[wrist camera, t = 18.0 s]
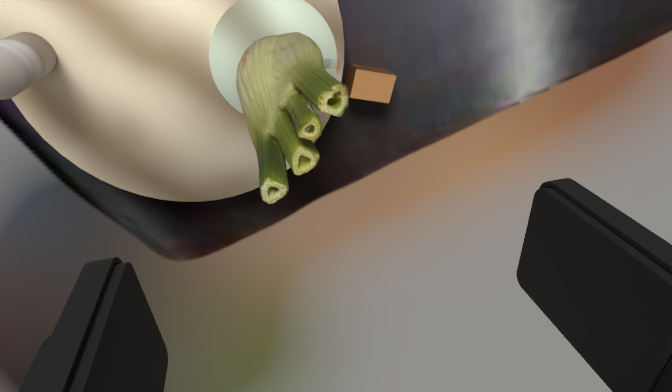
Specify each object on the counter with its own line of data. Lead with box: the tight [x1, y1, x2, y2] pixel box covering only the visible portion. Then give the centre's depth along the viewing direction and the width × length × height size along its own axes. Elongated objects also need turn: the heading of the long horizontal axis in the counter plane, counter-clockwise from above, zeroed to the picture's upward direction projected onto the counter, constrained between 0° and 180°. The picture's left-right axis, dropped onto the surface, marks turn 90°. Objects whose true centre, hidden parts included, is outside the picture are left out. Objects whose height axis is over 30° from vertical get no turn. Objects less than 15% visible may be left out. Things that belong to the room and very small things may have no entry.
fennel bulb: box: [236, 32, 349, 204], centre depth 21 cm, size 6×5×12 cm
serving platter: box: [0, 0, 344, 202], centre depth 24 cm, size 20×20×6 cm
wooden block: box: [344, 63, 396, 103], centre depth 27 cm, size 17×8×2 cm, turn 94°
